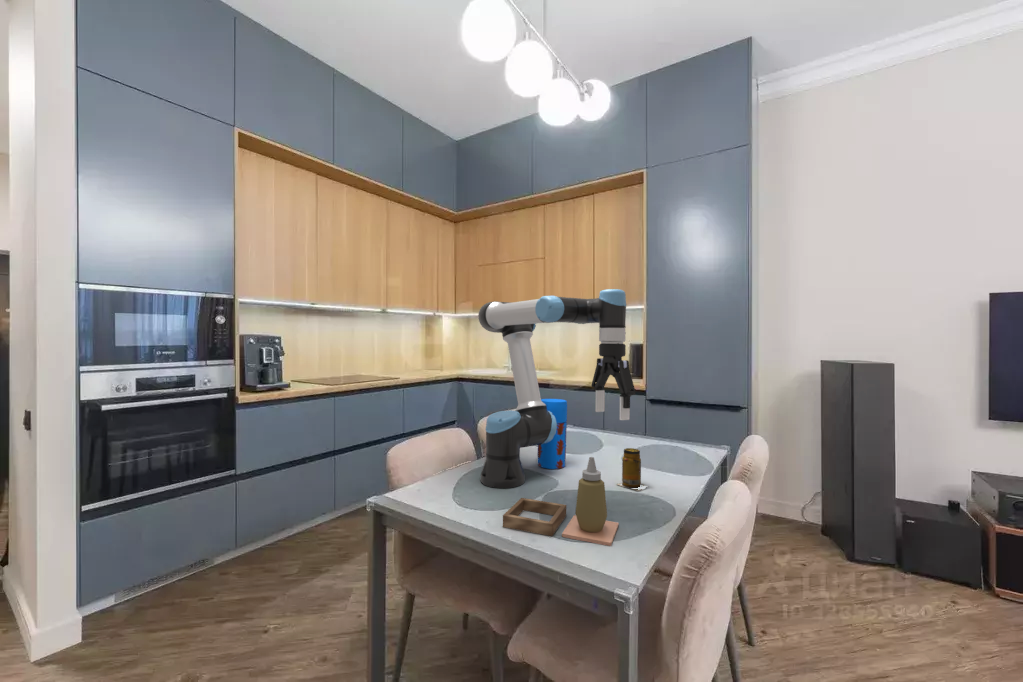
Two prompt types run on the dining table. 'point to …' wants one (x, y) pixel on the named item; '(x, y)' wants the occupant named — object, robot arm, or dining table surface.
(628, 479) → the condiment
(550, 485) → the dining table surface
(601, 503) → the squeeze bottle
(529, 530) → the bottle holder
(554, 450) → the thermos
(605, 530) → the tile
